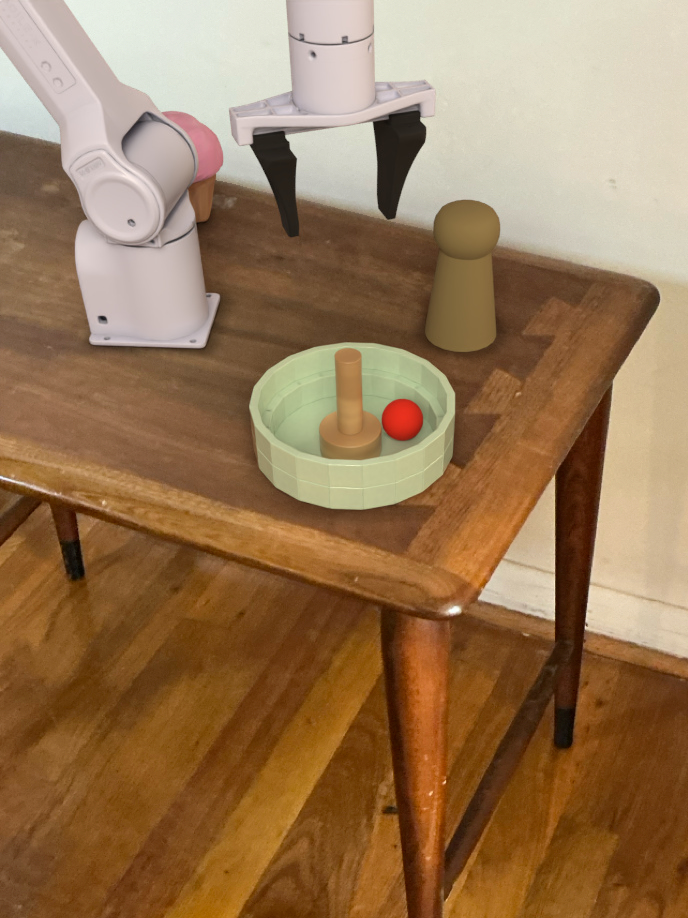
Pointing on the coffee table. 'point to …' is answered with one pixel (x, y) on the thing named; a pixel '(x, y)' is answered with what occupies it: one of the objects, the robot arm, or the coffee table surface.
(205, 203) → the cupcake
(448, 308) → the cork
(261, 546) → the coffee table surface
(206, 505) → the coffee table surface
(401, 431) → the red ball
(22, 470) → the coffee table surface
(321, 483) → the bowl
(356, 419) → the wooden peg on base
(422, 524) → the coffee table surface
